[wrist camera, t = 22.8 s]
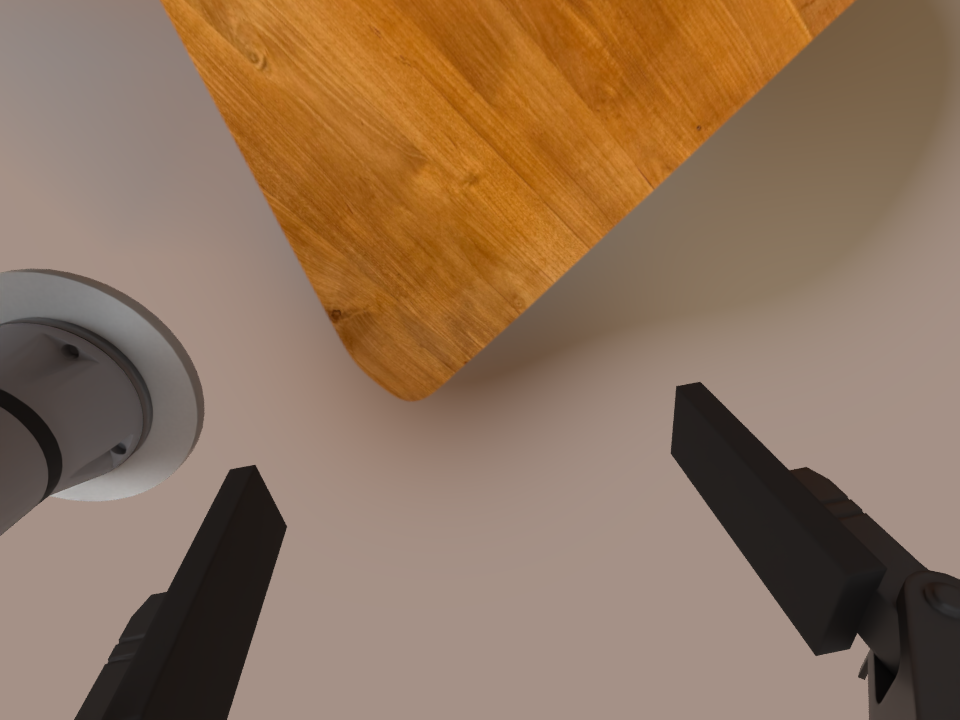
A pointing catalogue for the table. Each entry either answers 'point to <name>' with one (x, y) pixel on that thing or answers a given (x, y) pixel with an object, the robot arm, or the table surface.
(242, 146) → the table surface
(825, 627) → the robot arm
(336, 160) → the table surface
